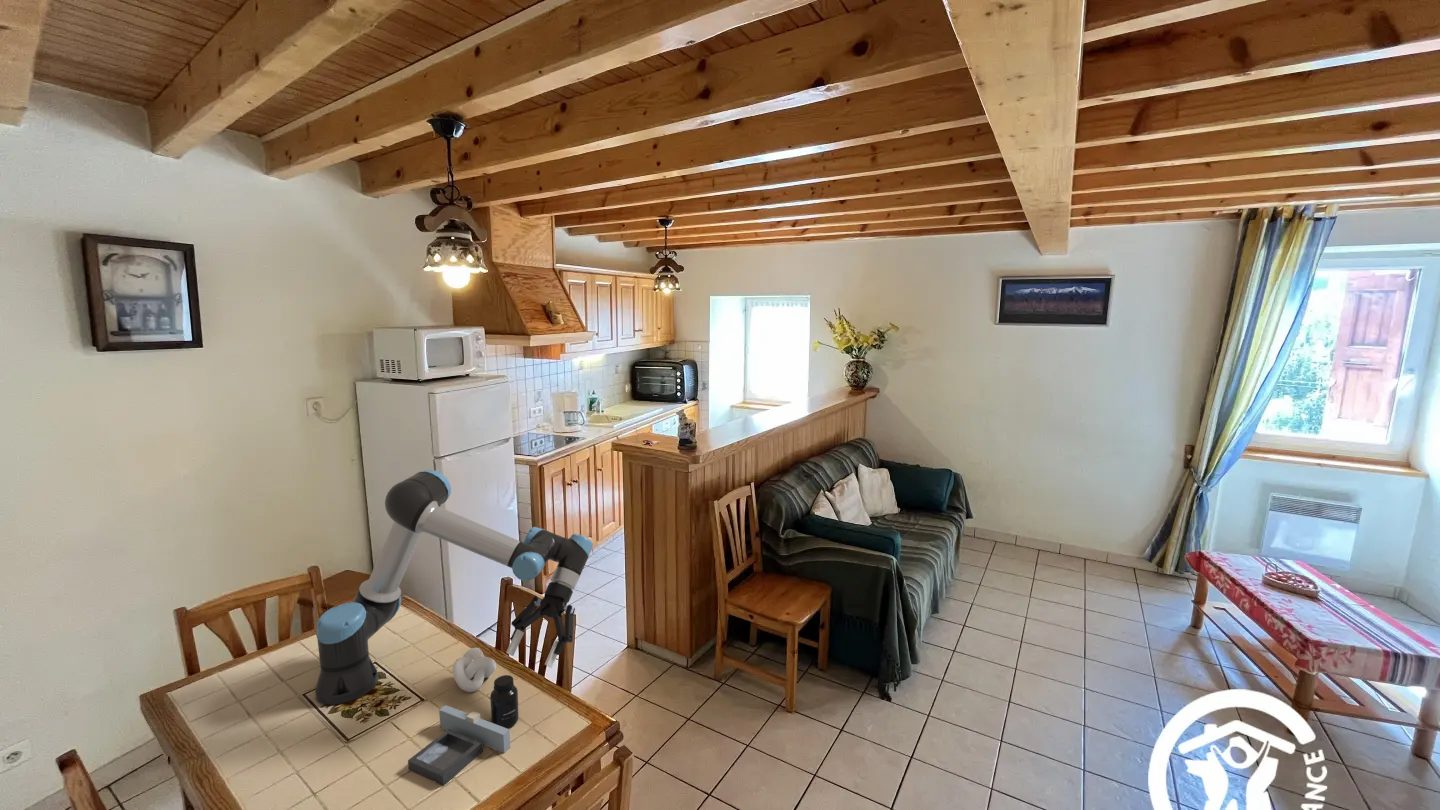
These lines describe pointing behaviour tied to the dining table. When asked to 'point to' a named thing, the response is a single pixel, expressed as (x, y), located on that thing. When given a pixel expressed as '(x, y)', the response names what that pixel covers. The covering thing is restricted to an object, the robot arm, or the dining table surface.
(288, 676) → the dining table surface
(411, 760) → the keeper frame
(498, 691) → the supplement bottle
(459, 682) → the white trefoil knot
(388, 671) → the dining table surface
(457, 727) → the door edge plank
